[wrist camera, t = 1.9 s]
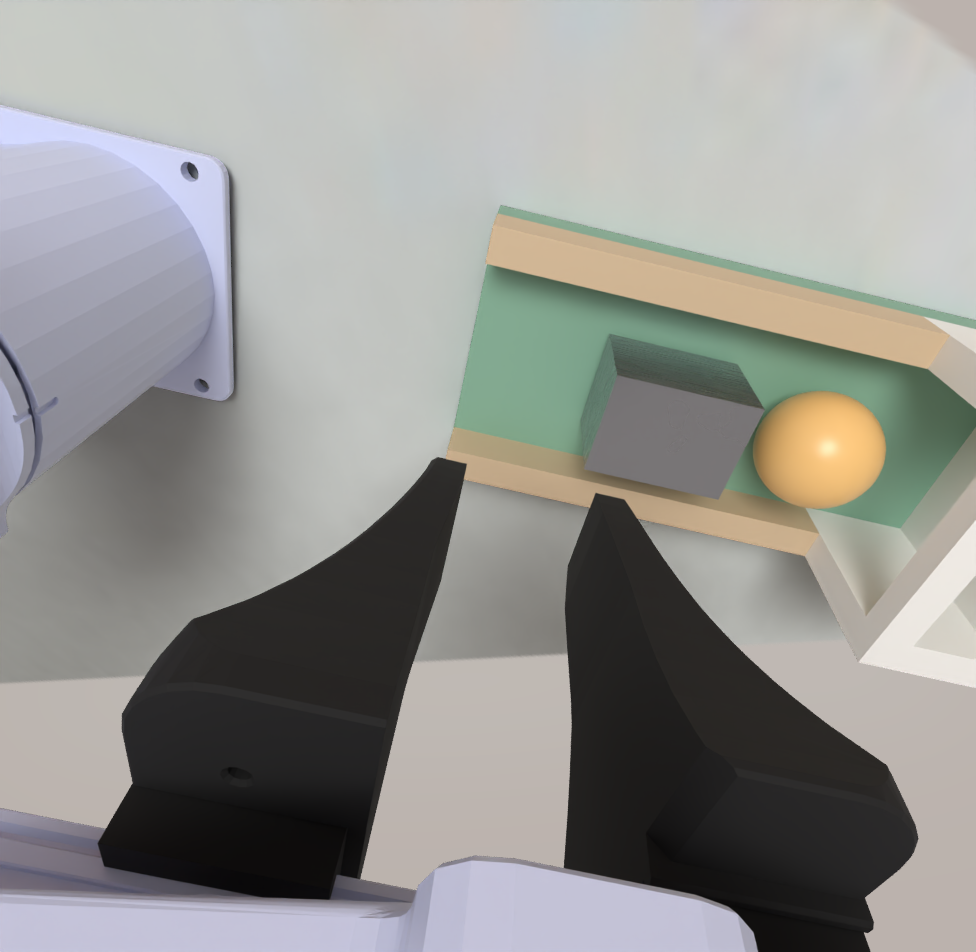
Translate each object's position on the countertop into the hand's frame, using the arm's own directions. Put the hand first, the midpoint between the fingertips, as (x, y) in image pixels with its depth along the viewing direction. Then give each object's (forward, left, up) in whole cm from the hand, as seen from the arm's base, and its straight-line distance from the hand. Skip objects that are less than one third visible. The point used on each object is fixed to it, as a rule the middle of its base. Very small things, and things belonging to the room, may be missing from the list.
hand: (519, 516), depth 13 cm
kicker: (+4, 0, -8) cm, 9 cm away
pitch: (+6, 0, -9) cm, 11 cm away
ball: (+9, 0, -6) cm, 11 cm away
